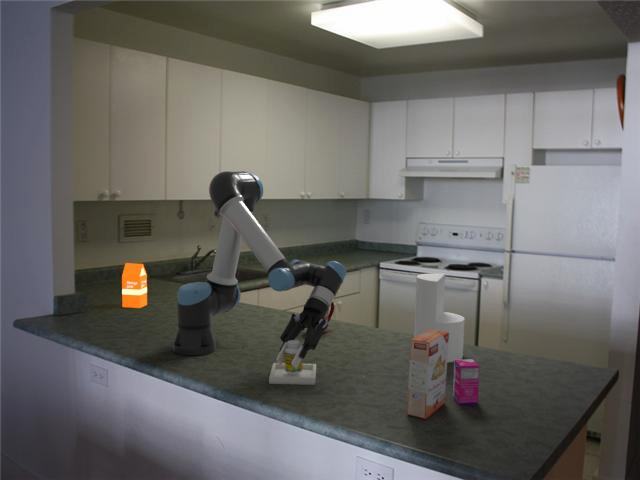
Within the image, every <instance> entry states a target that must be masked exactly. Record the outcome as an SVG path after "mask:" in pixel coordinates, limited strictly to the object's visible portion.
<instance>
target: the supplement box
mask: <svg viewBox="0 0 640 480" xmlns="http://www.w3.org/2000/svg"><path fill="white" fill-rule="evenodd" d="M452 382H453V386H452V387H453V388H452V389H453V390H452V398H453V399H454V400H455V401H456V402H457V404H458V405H459V406H461V405H463V406H468V405H470V406H471V405H474V406H475V405H476V406H477V405H479V392H480V390H479V389H480V388H479V385H480V364H478V363H477V362H476V361H475V360H474V359H473V358H471V359H470V358H469V359H466V358H465V359H461V360H454V362H453V381H452Z"/></svg>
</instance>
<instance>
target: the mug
mask: <svg viewBox="0 0 640 480" xmlns="http://www.w3.org/2000/svg"><path fill="white" fill-rule="evenodd" d="M307 300H308V298H307ZM307 300H306V301H307ZM334 311H335V303H334V301H332V303H331V305H330V307H329V308H328V311H327V313H326V315H325V317H324V318H323V320H325V321H326V322H327V324H328V326H329V322H330V320H331V319H332V316H333V314H334ZM328 326H327V328H326V329H325V330H324V332H323V334H326V333H327V332H328ZM317 327H318V325H317V326H316V329H317ZM316 329H315V331H316ZM314 333H315V332H314Z"/></svg>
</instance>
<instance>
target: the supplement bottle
mask: <svg viewBox="0 0 640 480" xmlns="http://www.w3.org/2000/svg"><path fill="white" fill-rule="evenodd" d="M287 346H288V347H287V348H286V350H285V359H284V361H285V362H284V363H285V371H286V372H287V373H289V374H298V373H301V372H302V364H303V359H301V361H300V363H299V365H298V367H297V369H296V368H294V367H293V366H292V364H291V363H292V361H293V359H294V357H295V355H296V353H297V351H298V349H299V348H300V346H301V341H300V340H297V339H296V340H295V339H294V340H290V341H288V342H287Z"/></svg>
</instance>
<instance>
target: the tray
mask: <svg viewBox="0 0 640 480" xmlns="http://www.w3.org/2000/svg"><path fill="white" fill-rule="evenodd" d="M270 370H271V371H270V373H269V377H268V384H270V385H274V384H275V385H303V386H304V385H305V386H309V385H310V386H316V379H317V364H316V363H302V372H301V373H298V374H289V373H287V372H286V371H285V362H283V363H282V365H281V364H279V363H278V362H273V363H272V366H271V369H270Z"/></svg>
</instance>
